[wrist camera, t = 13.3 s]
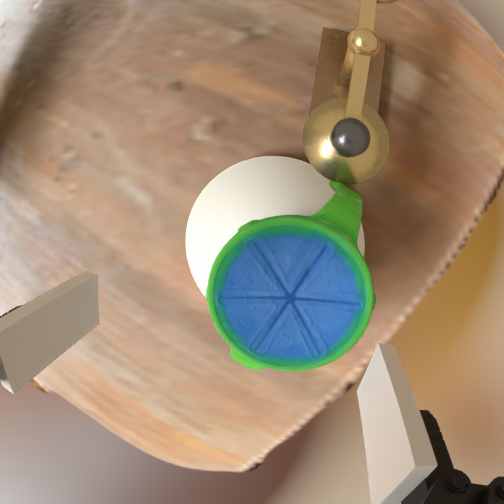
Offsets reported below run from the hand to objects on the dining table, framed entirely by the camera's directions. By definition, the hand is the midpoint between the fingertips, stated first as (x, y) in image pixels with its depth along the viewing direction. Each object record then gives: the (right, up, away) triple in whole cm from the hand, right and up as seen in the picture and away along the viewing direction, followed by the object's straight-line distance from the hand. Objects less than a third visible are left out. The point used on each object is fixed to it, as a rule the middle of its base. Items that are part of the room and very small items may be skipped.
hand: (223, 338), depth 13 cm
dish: (+3, +4, +17) cm, 17 cm away
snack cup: (+5, +3, +15) cm, 17 cm away
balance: (+10, +19, +11) cm, 25 cm away
